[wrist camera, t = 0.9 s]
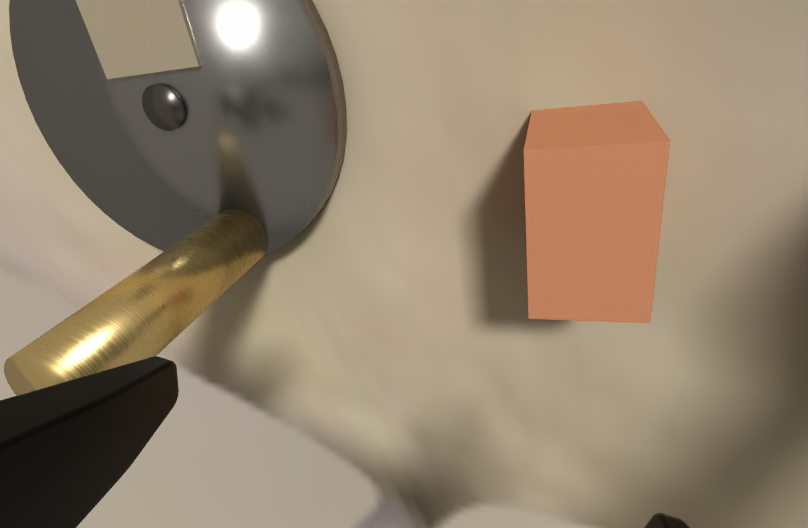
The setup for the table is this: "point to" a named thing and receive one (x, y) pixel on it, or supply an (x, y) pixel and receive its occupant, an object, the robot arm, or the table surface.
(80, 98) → the metal plate with post
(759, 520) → the table surface
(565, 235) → the link block
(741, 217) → the table surface
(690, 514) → the table surface
